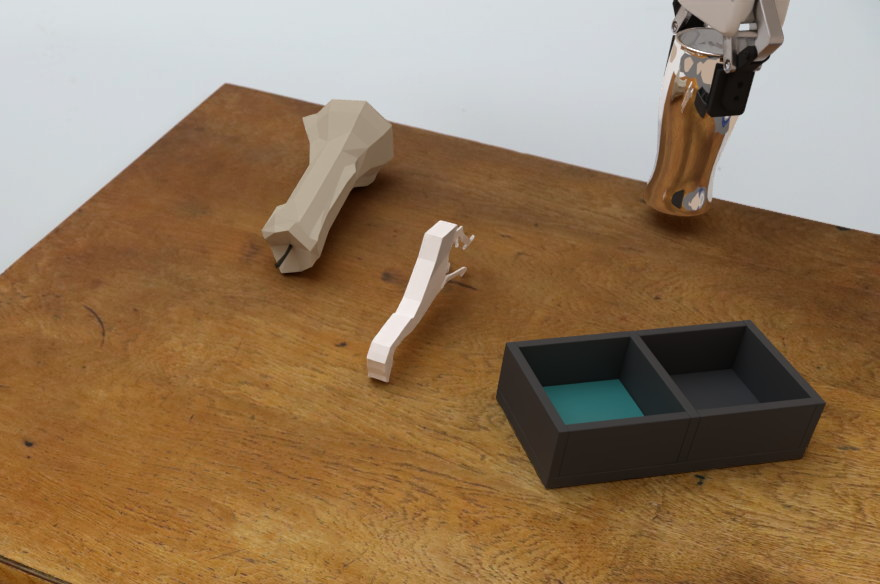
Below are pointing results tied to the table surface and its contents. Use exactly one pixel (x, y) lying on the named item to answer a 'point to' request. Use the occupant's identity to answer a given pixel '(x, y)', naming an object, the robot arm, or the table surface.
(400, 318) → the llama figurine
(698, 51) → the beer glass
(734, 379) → the divided box
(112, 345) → the table surface
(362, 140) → the faceted club
